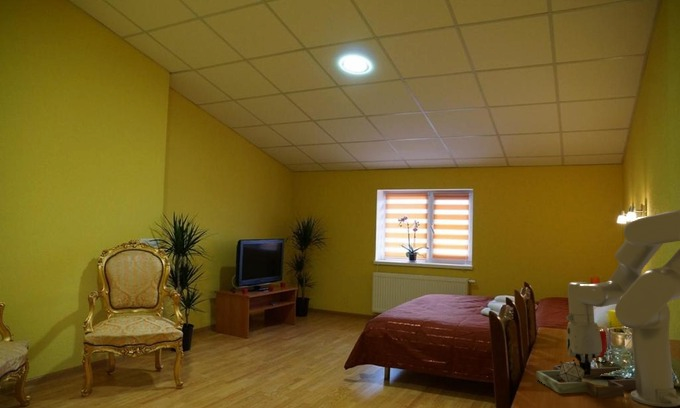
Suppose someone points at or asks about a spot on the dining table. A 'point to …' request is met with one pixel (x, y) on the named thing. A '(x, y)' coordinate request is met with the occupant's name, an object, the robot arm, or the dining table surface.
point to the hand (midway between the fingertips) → (585, 373)
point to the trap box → (586, 383)
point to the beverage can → (603, 342)
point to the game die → (571, 372)
